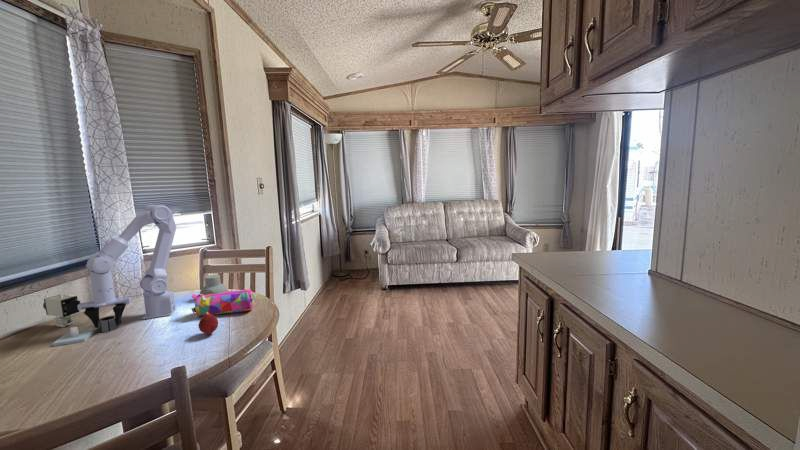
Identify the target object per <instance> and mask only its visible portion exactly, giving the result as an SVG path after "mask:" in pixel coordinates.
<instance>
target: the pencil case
mask: <svg viewBox="0 0 800 450" xmlns="http://www.w3.org/2000/svg"><path fill="white" fill-rule="evenodd" d="M191 298H193V299H195V302H194V307H192V308H191V312H192V313H193V314H194V313H195V316H196V317H204V316H205V315H206V312H208V313H209V314H211V315H213V316H215V315H223V314H235V313H240V312H248V311H252V310H253V308H254V304H255V296H254V292H253V290H252V289H251V288H249V289H241V290H227V291H226V292H221V293H216V294H208V295H203V294H200V293H198V294H197V295H196V294H195V293H193V294H192V295H191Z"/></svg>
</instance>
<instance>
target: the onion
mask: <svg viewBox="0 0 800 450" xmlns="http://www.w3.org/2000/svg"><path fill="white" fill-rule="evenodd" d="M218 326H219V320H218V318H217V317H216V316H215V315H211V314H209V313H208V312H206V315H203V316H202V318H201V319H200V320H199V322H198V329H199V330H200V332H201V333H202V334H206V335H209V334H210V335H212V333H214V332H215V331H216V330H217V328H218Z"/></svg>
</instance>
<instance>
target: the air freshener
mask: <svg viewBox="0 0 800 450" xmlns="http://www.w3.org/2000/svg"><path fill="white" fill-rule="evenodd" d="M204 279H205V280H204V281H205V286H203V287H202V288H201V289H200V290H199V294H203V295H208V294H216V293H221V292H226V291H228V286H226V285H225V284H223V283H221V275H220V274H210V275H207V276H205V278H204Z"/></svg>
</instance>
